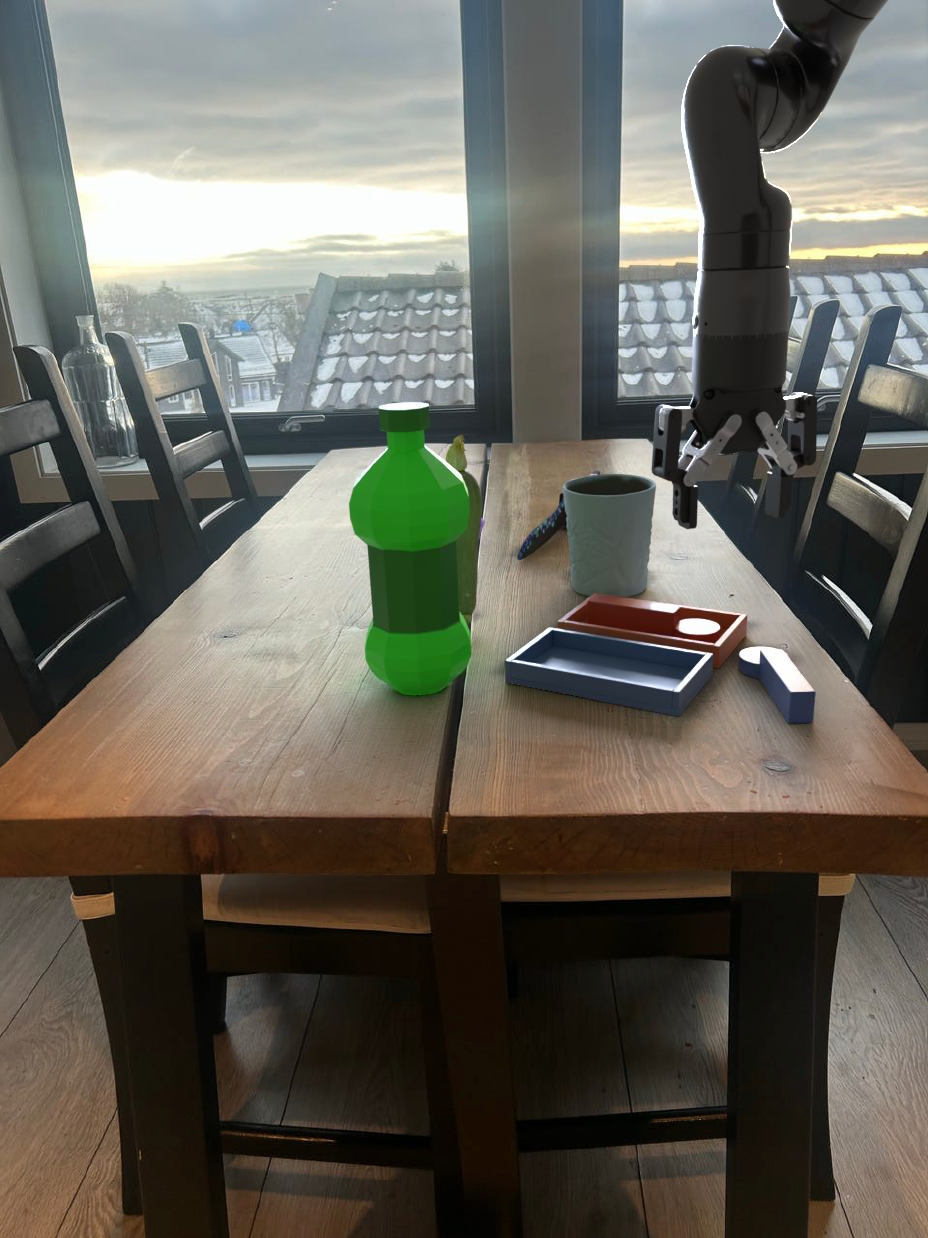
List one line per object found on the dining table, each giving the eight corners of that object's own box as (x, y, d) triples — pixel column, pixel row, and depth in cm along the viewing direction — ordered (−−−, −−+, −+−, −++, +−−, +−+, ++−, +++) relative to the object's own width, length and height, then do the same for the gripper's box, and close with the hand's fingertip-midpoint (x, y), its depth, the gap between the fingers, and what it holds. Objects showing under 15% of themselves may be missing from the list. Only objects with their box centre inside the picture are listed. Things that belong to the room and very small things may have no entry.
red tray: (746, 635, 99) (747, 614, 98) (718, 668, 91) (719, 646, 91) (594, 612, 107) (594, 593, 106) (557, 641, 99) (557, 621, 98)
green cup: (658, 575, 117) (661, 474, 113) (646, 604, 108) (649, 495, 104) (573, 571, 120) (573, 472, 116) (555, 598, 111) (553, 492, 107)
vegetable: (443, 618, 107) (433, 430, 100) (483, 615, 107) (477, 428, 100) (446, 632, 103) (436, 438, 96) (488, 629, 103) (481, 435, 96)
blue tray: (712, 676, 90) (713, 653, 89) (678, 716, 82) (679, 692, 82) (549, 648, 98) (549, 627, 97) (505, 683, 90) (504, 660, 90)
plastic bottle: (461, 712, 85) (447, 415, 76) (346, 702, 88) (320, 415, 79) (490, 666, 94) (481, 396, 85) (385, 658, 97) (365, 397, 88)
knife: (593, 496, 150) (591, 467, 148) (612, 498, 148) (611, 468, 146) (500, 575, 126) (496, 542, 124) (521, 578, 125) (518, 545, 123)
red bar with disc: (582, 630, 100) (582, 604, 99) (599, 616, 104) (599, 591, 103) (711, 651, 94) (713, 623, 93) (725, 635, 97) (727, 608, 96)
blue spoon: (828, 722, 80) (831, 691, 79) (773, 724, 80) (775, 692, 79) (780, 659, 93) (782, 631, 92) (732, 661, 93) (734, 633, 92)
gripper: (682, 336, 76) (677, 542, 82) (845, 323, 79) (829, 522, 85) (639, 330, 83) (637, 521, 88) (791, 319, 86) (780, 503, 92)
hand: (731, 521), depth 87 cm, fingers open, 8 cm apart
